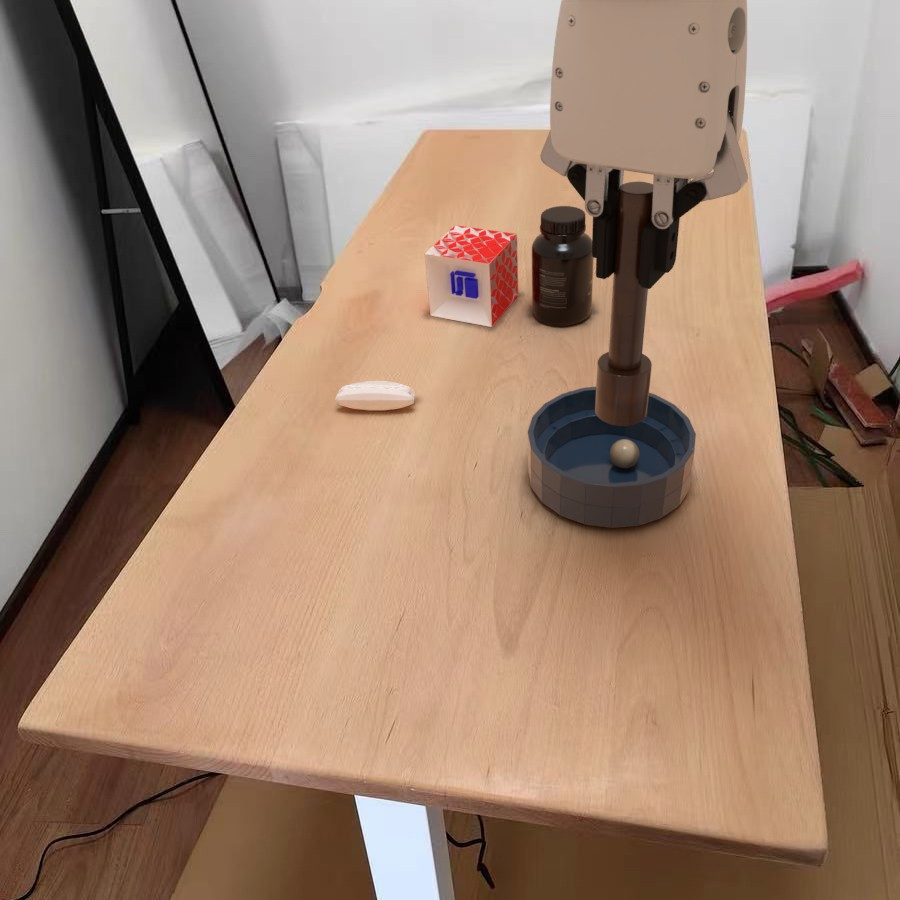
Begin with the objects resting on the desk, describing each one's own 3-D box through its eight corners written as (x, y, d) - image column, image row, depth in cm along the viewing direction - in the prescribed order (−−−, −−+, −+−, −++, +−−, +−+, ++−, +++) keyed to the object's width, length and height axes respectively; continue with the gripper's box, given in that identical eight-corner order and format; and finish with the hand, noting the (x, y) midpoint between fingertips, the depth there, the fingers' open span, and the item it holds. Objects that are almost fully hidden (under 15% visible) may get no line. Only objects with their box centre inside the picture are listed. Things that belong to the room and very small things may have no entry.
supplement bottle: (603, 315, 99) (608, 215, 91) (555, 334, 96) (556, 233, 89) (567, 292, 103) (569, 196, 96) (520, 310, 101) (518, 212, 94)
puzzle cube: (518, 295, 104) (517, 233, 99) (492, 327, 98) (489, 263, 93) (458, 285, 107) (454, 225, 102) (429, 315, 101) (423, 253, 96)
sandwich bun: (414, 415, 86) (411, 392, 84) (335, 415, 87) (331, 392, 85) (418, 397, 88) (415, 374, 87) (341, 397, 89) (337, 374, 88)
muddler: (655, 407, 61) (679, 183, 51) (632, 432, 59) (652, 202, 49) (610, 392, 63) (624, 173, 53) (585, 416, 60) (596, 192, 51)
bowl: (712, 456, 78) (719, 412, 75) (650, 553, 69) (655, 507, 66) (572, 413, 84) (573, 371, 81) (500, 497, 76) (498, 453, 72)
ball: (645, 440, 77) (623, 431, 75) (646, 466, 75) (624, 457, 74) (624, 450, 79) (603, 441, 77) (625, 475, 77) (603, 467, 76)
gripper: (839, -71, 42) (778, 275, 53) (547, -73, 49) (548, 230, 61) (792, -42, 37) (736, 330, 48) (478, -50, 45) (493, 274, 56)
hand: (632, 272), depth 55 cm, fingers closed on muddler, 2 cm apart
